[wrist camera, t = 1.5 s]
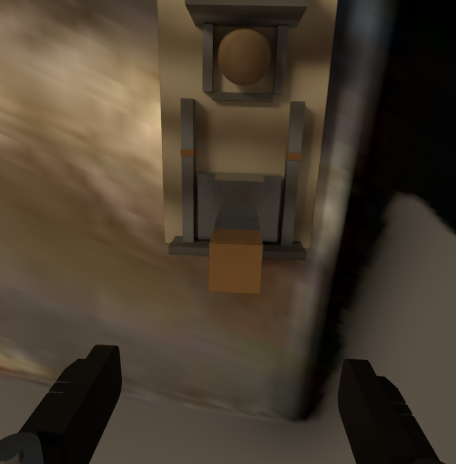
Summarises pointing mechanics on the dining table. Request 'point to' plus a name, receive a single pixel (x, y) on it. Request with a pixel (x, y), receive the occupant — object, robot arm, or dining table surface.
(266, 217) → the lever
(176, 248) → the base
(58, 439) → the robot arm
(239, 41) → the walnut
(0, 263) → the dining table surface
